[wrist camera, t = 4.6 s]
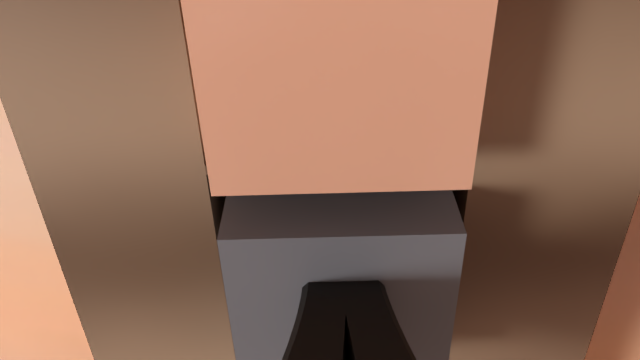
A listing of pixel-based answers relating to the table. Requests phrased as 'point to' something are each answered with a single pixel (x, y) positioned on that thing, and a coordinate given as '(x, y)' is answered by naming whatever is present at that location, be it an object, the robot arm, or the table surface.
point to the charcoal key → (341, 261)
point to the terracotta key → (339, 93)
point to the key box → (206, 211)
